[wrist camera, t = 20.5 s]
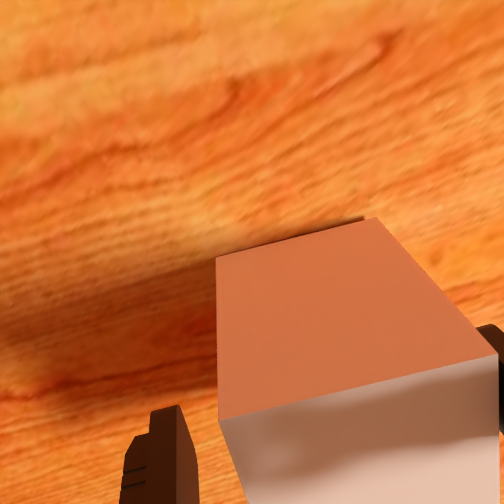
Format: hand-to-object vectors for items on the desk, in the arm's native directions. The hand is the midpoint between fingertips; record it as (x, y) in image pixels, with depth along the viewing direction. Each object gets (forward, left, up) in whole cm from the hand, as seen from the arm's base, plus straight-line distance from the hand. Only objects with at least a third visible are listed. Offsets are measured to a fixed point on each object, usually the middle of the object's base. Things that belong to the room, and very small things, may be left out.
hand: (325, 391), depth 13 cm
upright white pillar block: (-1, -2, -7) cm, 7 cm away
